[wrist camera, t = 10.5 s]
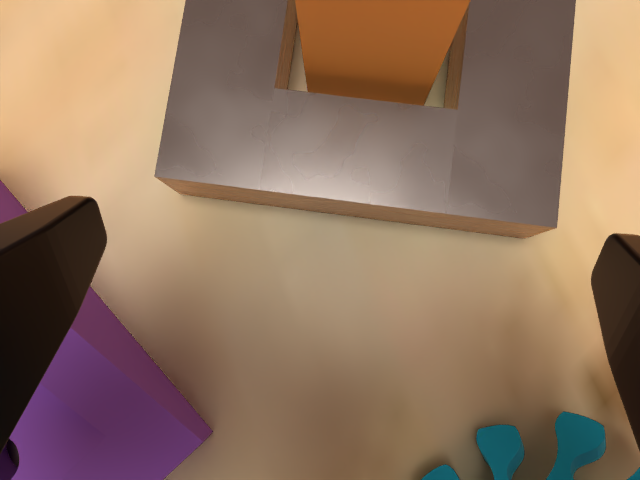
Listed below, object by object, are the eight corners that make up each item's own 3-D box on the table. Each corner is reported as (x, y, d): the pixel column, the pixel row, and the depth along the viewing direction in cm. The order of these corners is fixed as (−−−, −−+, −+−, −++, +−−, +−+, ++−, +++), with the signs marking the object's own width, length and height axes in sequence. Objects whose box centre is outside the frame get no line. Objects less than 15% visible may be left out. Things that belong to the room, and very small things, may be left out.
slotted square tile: (524, 238, 17) (556, 227, 14) (180, 193, 18) (154, 176, 15) (553, -83, 18) (587, -143, 16) (232, -115, 19) (217, -177, 16)
